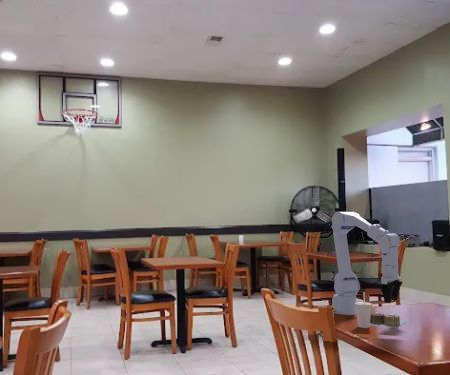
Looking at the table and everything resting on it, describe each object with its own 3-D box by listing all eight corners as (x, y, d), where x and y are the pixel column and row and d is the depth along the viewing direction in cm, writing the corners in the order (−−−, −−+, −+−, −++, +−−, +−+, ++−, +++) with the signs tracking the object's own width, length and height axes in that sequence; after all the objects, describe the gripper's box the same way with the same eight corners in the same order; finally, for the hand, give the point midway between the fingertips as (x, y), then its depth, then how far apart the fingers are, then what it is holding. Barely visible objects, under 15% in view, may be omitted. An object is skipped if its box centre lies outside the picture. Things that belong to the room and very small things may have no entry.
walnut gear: (370, 323, 184) (369, 315, 184) (369, 320, 189) (369, 312, 189) (384, 323, 182) (384, 315, 182) (384, 320, 187) (383, 313, 187)
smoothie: (363, 332, 173) (362, 293, 174) (351, 329, 179) (350, 291, 180) (376, 330, 176) (375, 292, 177) (364, 327, 182) (363, 289, 183)
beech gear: (382, 324, 181) (382, 316, 182) (387, 321, 186) (387, 314, 186) (396, 326, 178) (396, 318, 178) (401, 323, 182) (401, 315, 183)
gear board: (362, 327, 182) (362, 314, 182) (379, 319, 196) (379, 307, 197) (394, 331, 175) (394, 318, 175) (409, 322, 189) (409, 310, 189)
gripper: (394, 267, 175) (395, 305, 174) (406, 264, 187) (407, 299, 186) (375, 266, 180) (376, 303, 179) (388, 263, 191) (389, 297, 190)
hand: (391, 301), depth 183 cm, fingers open, 7 cm apart
